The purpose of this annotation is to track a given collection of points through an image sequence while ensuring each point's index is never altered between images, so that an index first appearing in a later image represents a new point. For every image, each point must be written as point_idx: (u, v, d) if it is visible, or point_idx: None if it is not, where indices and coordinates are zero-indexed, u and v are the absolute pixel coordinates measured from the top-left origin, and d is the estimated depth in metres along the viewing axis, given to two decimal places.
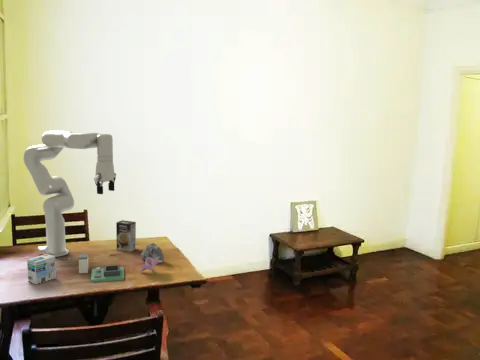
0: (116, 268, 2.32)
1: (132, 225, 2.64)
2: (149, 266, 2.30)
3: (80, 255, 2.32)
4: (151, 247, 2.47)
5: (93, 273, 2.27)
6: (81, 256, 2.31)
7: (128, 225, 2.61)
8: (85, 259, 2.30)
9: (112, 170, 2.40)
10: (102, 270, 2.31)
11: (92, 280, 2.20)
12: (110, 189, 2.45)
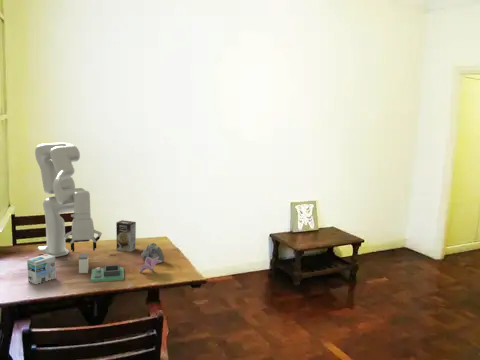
0: (116, 268, 2.32)
1: (132, 225, 2.64)
2: (149, 266, 2.30)
3: (80, 255, 2.32)
4: (151, 247, 2.47)
5: (93, 273, 2.27)
6: (81, 256, 2.31)
7: (128, 225, 2.61)
8: (85, 259, 2.30)
9: None
10: (102, 270, 2.31)
11: (92, 280, 2.20)
12: None
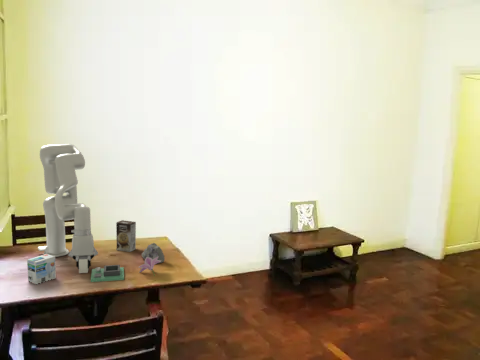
0: (116, 268, 2.32)
1: (132, 225, 2.64)
2: (148, 266, 2.30)
3: None
4: (152, 247, 2.47)
5: (93, 273, 2.27)
6: (81, 256, 2.31)
7: (128, 225, 2.61)
8: (85, 259, 2.30)
9: None
10: (102, 270, 2.31)
11: (92, 280, 2.20)
12: None
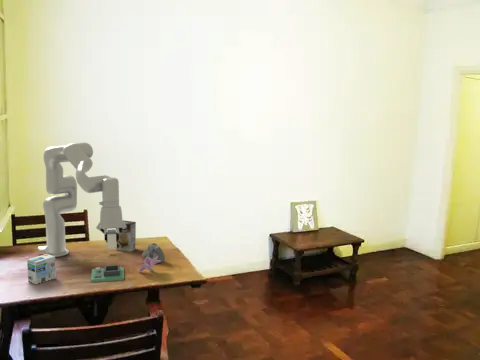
0: (116, 268, 2.32)
1: (132, 225, 2.64)
2: (148, 266, 2.30)
3: (108, 230, 2.25)
4: (152, 247, 2.47)
5: (93, 273, 2.27)
6: (109, 231, 2.24)
7: (128, 225, 2.61)
8: (114, 234, 2.23)
9: None
10: (102, 270, 2.31)
11: (92, 280, 2.20)
12: None
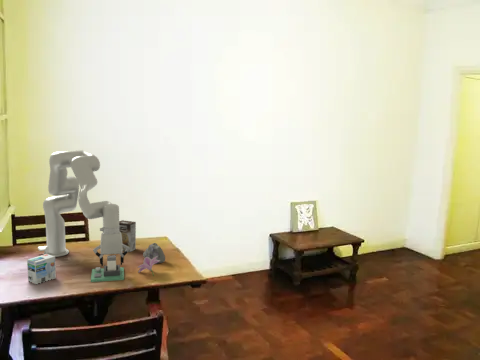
0: (116, 268, 2.32)
1: (132, 225, 2.64)
2: (147, 266, 2.30)
3: (108, 256, 2.27)
4: (152, 247, 2.48)
5: (93, 273, 2.27)
6: (109, 257, 2.26)
7: (128, 225, 2.61)
8: (114, 260, 2.25)
9: None
10: (102, 270, 2.31)
11: (92, 280, 2.20)
12: (102, 264, 2.26)
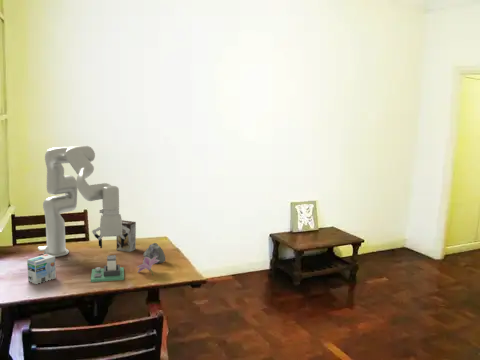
0: (116, 268, 2.32)
1: (132, 225, 2.64)
2: (147, 266, 2.30)
3: (108, 256, 2.27)
4: (153, 247, 2.48)
5: (93, 273, 2.27)
6: (109, 257, 2.26)
7: (128, 225, 2.61)
8: (114, 260, 2.25)
9: None
10: (102, 270, 2.31)
11: (92, 280, 2.20)
12: (101, 246, 2.25)
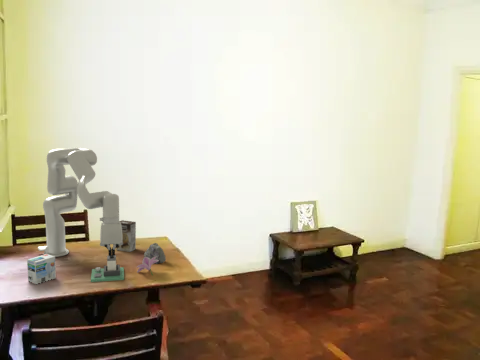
0: (116, 268, 2.32)
1: (132, 225, 2.64)
2: (146, 266, 2.30)
3: (108, 256, 2.27)
4: (153, 247, 2.48)
5: (93, 273, 2.27)
6: (109, 257, 2.26)
7: (128, 225, 2.61)
8: (114, 260, 2.25)
9: None
10: (102, 270, 2.31)
11: (92, 280, 2.20)
12: None
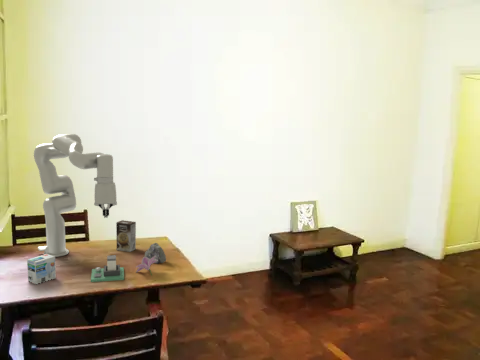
0: (116, 268, 2.32)
1: (132, 225, 2.64)
2: (145, 266, 2.31)
3: (108, 256, 2.27)
4: (153, 247, 2.48)
5: (93, 273, 2.27)
6: (109, 257, 2.26)
7: (128, 225, 2.61)
8: (114, 260, 2.25)
9: None
10: (102, 270, 2.31)
11: (92, 280, 2.20)
12: None
